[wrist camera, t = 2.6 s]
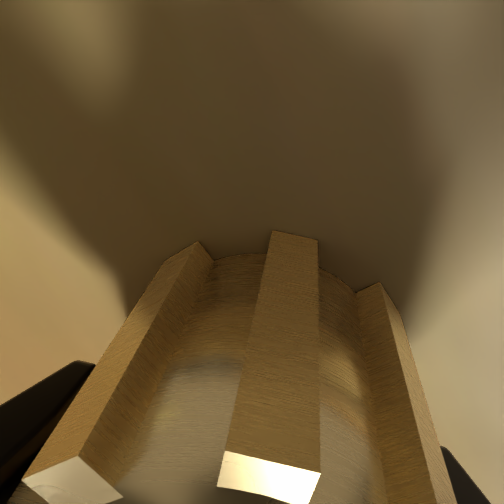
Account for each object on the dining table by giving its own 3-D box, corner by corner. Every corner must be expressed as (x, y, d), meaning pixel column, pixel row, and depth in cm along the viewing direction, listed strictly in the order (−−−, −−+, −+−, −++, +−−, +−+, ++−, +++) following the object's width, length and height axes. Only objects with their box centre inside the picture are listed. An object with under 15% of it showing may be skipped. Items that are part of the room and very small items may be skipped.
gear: (452, 270, 8) (656, 625, 3) (357, 471, 11) (391, 819, 6) (141, 200, 8) (-104, 437, 4) (127, 416, 11) (-18, 711, 6)
